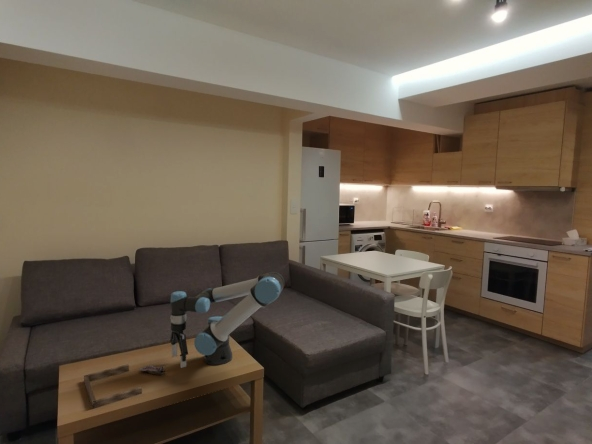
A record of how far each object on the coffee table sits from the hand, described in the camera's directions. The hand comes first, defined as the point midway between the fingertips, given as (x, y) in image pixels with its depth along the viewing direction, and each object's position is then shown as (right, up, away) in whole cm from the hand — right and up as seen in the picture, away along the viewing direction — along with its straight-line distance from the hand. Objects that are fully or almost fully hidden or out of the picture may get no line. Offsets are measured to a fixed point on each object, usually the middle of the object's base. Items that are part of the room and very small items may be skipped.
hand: (178, 361), depth 183 cm
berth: (-24, -5, -18) cm, 31 cm away
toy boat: (-8, -6, -7) cm, 12 cm away
